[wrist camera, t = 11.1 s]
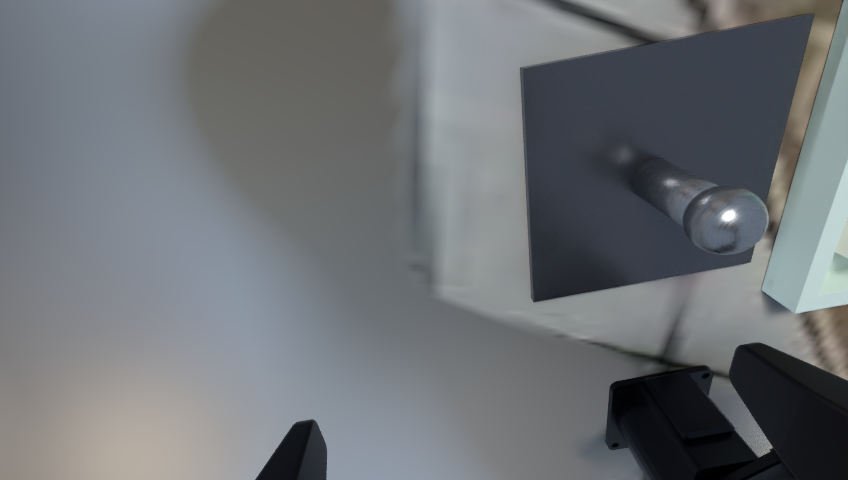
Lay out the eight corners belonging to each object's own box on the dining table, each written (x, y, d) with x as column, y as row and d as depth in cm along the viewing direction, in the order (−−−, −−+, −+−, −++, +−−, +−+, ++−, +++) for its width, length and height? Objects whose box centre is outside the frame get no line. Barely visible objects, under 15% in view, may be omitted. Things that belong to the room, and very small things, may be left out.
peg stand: (744, 258, 22) (861, 334, 17) (531, 297, 23) (578, 386, 17) (805, 13, 17) (1012, 7, 11) (519, 67, 17) (584, 88, 11)
